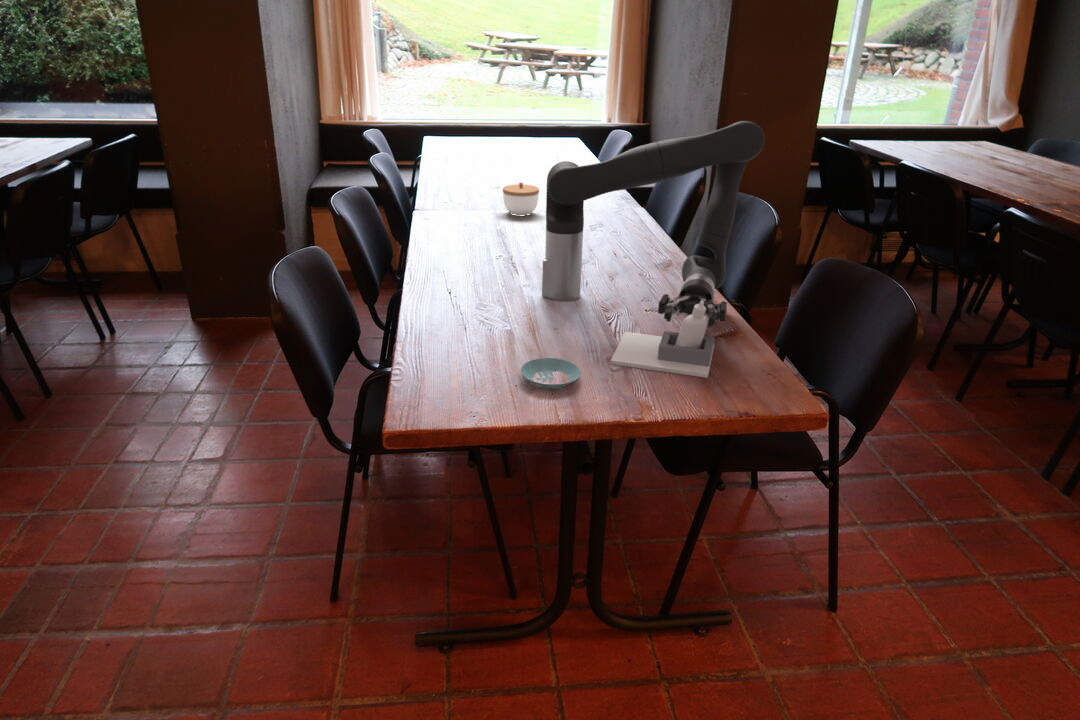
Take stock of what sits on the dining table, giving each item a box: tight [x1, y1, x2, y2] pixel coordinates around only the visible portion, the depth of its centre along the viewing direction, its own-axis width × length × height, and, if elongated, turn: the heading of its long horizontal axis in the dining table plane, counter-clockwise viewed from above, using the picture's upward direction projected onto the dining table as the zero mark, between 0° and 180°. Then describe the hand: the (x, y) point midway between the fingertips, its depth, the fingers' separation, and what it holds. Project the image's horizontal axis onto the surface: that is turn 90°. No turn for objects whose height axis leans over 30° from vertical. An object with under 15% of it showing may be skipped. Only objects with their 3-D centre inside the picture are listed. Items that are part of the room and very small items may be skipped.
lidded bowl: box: [502, 182, 540, 215], centre depth 264 cm, size 13×13×11 cm
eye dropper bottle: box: [675, 301, 709, 349], centre depth 156 cm, size 4×6×12 cm
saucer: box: [520, 357, 581, 389], centre depth 150 cm, size 12×12×2 cm
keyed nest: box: [610, 330, 715, 379], centre depth 161 cm, size 20×16×4 cm
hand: (689, 320), depth 156 cm, fingers open, 8 cm apart
